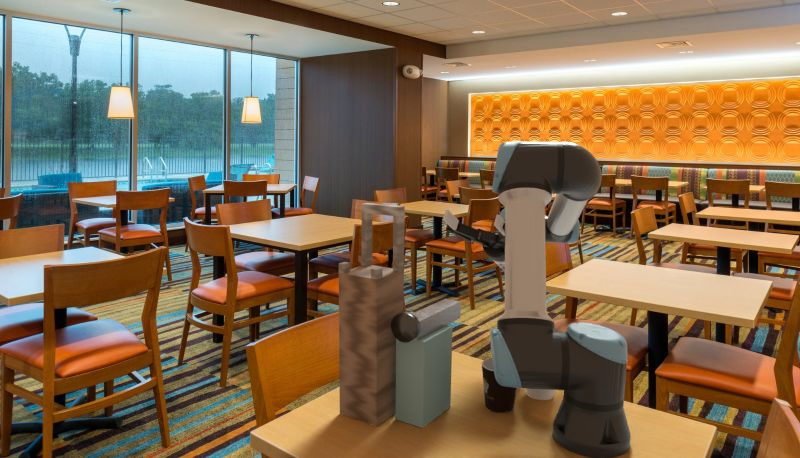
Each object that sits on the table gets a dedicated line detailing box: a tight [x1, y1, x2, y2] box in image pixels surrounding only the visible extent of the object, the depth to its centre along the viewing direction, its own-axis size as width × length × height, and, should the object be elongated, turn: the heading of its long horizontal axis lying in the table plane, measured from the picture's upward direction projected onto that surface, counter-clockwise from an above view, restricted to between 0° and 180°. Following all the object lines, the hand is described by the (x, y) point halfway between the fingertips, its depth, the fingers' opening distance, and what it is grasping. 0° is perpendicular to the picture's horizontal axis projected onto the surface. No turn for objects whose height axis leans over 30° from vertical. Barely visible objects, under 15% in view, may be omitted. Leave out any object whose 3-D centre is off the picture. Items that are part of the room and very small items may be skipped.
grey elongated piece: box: [391, 298, 462, 343], centre depth 130 cm, size 6×21×6 cm, turn 146°
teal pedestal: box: [394, 325, 453, 429], centre depth 130 cm, size 7×12×19 cm, turn 146°
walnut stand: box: [338, 202, 406, 427], centre depth 129 cm, size 10×10×46 cm
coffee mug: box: [481, 357, 518, 414], centre depth 136 cm, size 12×9×10 cm
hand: (470, 217), depth 141 cm, fingers open, 13 cm apart
